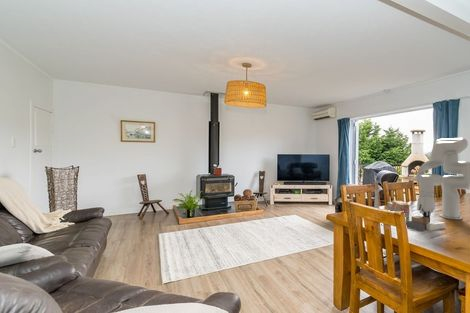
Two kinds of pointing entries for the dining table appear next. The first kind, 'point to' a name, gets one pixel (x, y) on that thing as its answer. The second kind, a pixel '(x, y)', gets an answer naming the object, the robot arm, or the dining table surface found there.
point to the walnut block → (420, 220)
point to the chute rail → (435, 226)
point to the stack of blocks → (399, 207)
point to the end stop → (415, 225)
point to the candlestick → (376, 195)
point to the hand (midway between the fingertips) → (426, 221)
